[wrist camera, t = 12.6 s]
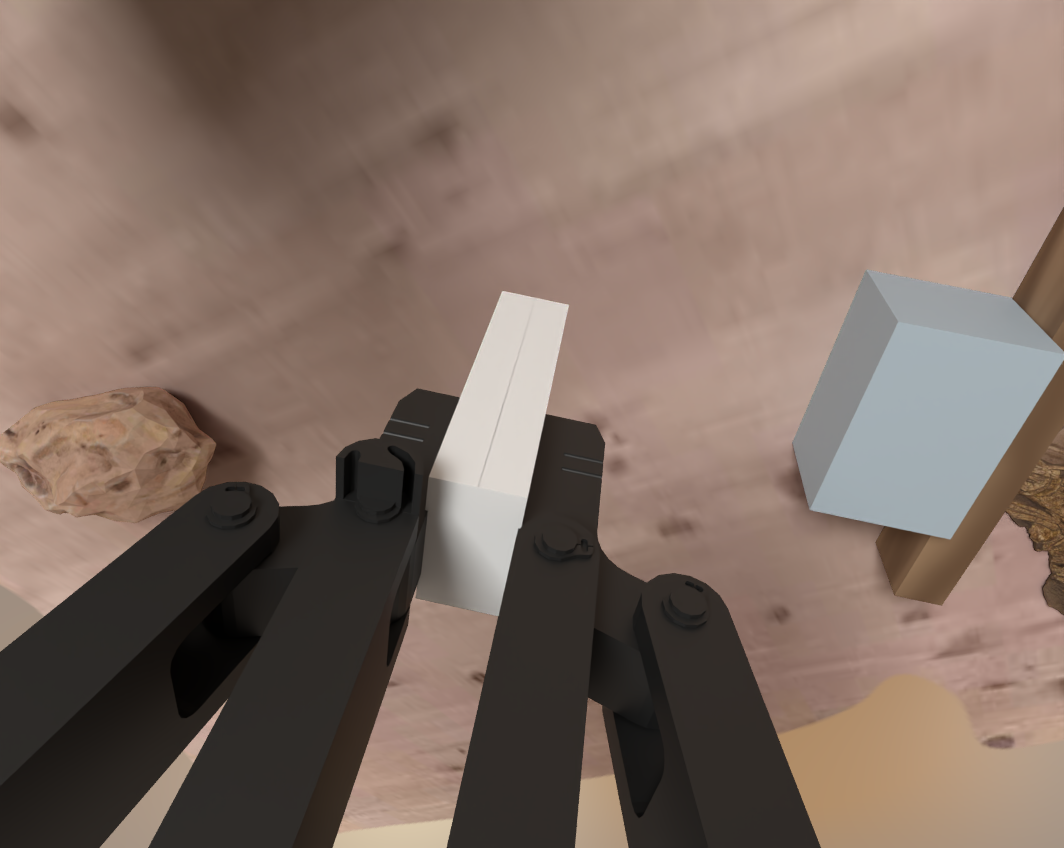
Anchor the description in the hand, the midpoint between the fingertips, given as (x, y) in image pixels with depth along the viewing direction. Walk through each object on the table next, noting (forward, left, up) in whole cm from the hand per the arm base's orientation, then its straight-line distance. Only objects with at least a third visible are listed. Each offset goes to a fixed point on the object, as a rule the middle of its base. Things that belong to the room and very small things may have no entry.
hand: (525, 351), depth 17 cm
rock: (-30, -28, -27) cm, 49 cm away
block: (+20, -11, -27) cm, 35 cm away
